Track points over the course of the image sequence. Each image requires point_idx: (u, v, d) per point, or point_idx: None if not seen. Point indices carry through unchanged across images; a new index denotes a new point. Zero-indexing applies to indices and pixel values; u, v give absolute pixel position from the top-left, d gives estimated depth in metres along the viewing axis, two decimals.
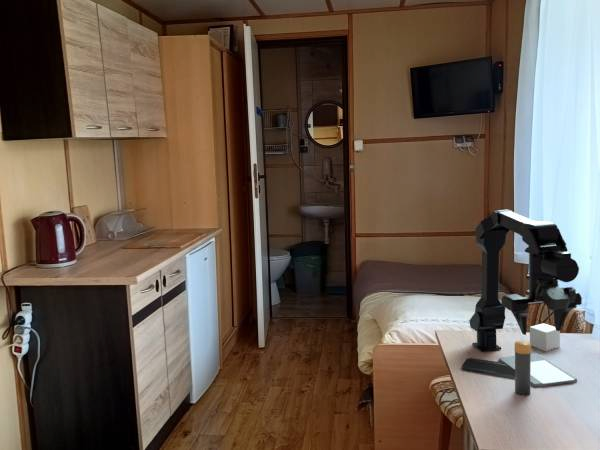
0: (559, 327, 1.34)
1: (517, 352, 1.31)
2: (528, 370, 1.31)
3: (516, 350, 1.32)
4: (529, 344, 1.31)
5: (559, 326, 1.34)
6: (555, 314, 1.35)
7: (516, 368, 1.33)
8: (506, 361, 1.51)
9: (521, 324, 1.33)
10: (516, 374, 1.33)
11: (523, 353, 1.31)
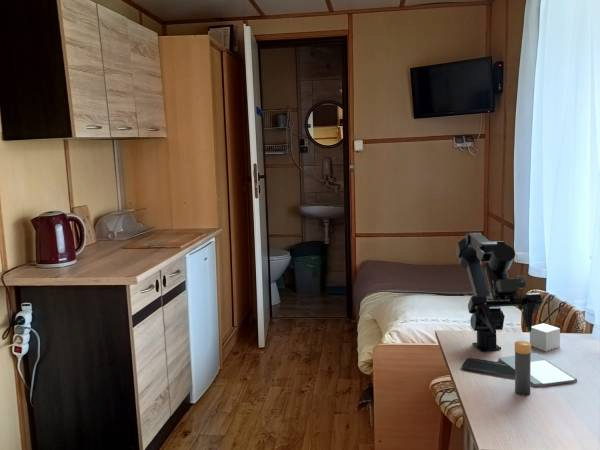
0: (530, 326, 1.39)
1: (517, 352, 1.31)
2: (528, 370, 1.31)
3: (516, 350, 1.32)
4: (529, 344, 1.31)
5: (529, 325, 1.39)
6: (525, 319, 1.42)
7: (516, 368, 1.33)
8: (506, 361, 1.51)
9: (488, 322, 1.41)
10: (516, 374, 1.33)
11: (523, 353, 1.31)
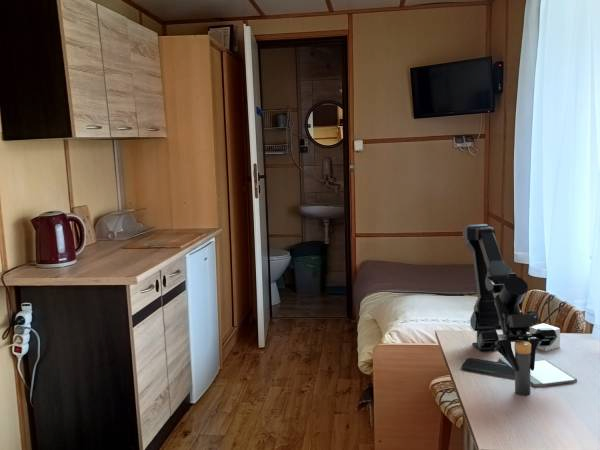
0: (533, 365, 1.32)
1: (517, 352, 1.31)
2: (528, 370, 1.31)
3: (516, 350, 1.32)
4: (529, 344, 1.31)
5: (532, 363, 1.32)
6: None
7: None
8: (506, 361, 1.51)
9: (510, 358, 1.33)
10: (516, 374, 1.33)
11: (523, 353, 1.31)
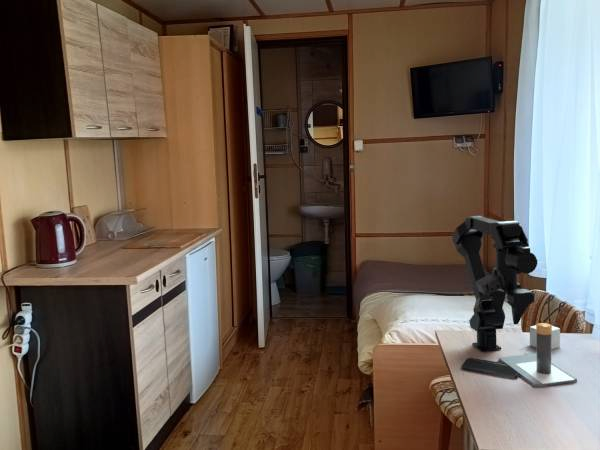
0: (514, 320, 1.46)
1: (541, 334, 1.40)
2: (550, 349, 1.41)
3: (540, 332, 1.40)
4: (550, 325, 1.41)
5: (513, 319, 1.46)
6: None
7: (540, 349, 1.41)
8: (506, 361, 1.51)
9: None
10: (540, 355, 1.41)
11: (547, 334, 1.40)
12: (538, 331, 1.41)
